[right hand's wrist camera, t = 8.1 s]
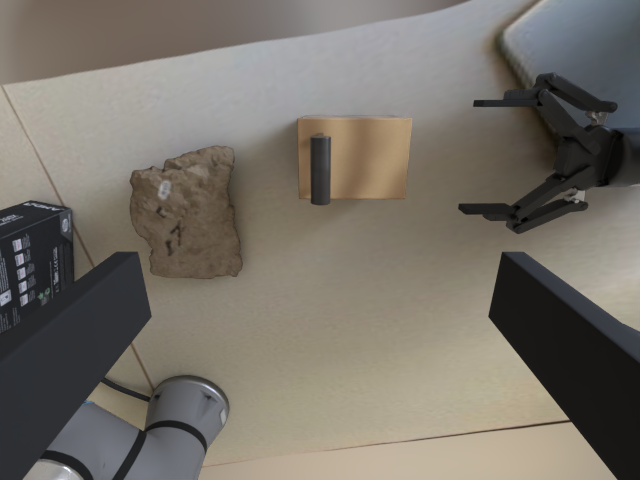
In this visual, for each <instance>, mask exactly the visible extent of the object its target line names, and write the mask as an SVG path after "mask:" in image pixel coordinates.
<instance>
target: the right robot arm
mask: <svg viewBox="0 0 640 480" xmlns="http://www.w3.org/2000/svg"><path fill="white" fill-rule="evenodd" d="M151 317H152V316H151V311H150V306H149V302H148V297H147V292H146V288H145V283H144V278H143V274H142V269H141V264H140V260H139V255H138V252H116V253H114V254H113V255H111V256H110V257H109V258H107V259H106V260H105V261H103V262H102V263H100V264H99V265H98V266H96V267H95V268H94V269H92V270H91V271H89V272H88V273H87V274H85V275H84V276H83V277H81V278H80V279H78V280H77V281H76V282H74V283H73V284H72V285H70V286H69V287H67V288H66V289H65V290H63V291H62V292H60V293H59V294H58V295H56V296H55V297H54V298H52V299H51V300H49V301H48V302H47V303H45V304H44V305H43V306H41V307H40V308H38V309H37V310H36V311H34V312H33V313H32V314H30V315H29V316H27V317H26V318H25V319H23V320H22V321H21V322H19V323H18V324H16V325H15V326H14V327H12V328H10V329H8V330H6V331H4V332H2V333H0V480H198V477H199V474H200V470H201V467H202V464H203V461H204V458H205V454H206V452H207V449H208V447H209V446H210V445H211V443H212V442H213V441H214V439H215V438H216V436H217V435H218V434H219V432H220V431H221V430H222V428H223V427H224V425H225V423H226V420H227V417H228V413H229V403H228V399H227V397H226V396H225V394H224V393H223V391H222V390H221V389H220V388H219V387H218V386H216V385H215V384H213V383H212V382H210V381H208V380H206V379H203V378H200V377H196V376H186V375H185V376H176V377H172V378H169V379H167V380H165V381H163V382H162V383H161V384H159V386H158V387H157V388H156V389H155V391H154V393H153V395H152V396H151V398H150V397H148V396H145V395H142V394H139V393H137V392H134V391H131V390H129V389H126V388H123V387H121V386H119V385H117V384H115V383H113V382H111V381H109V380H107V379H106V378H104V376H105V375H106V374H107V372H108V371H109V370H110V369H111V367H112V366H113V365H114V364H115V362H116V361H117V360H118V359H119V357H120V356H121V355H122V354H123V352H124V351H125V350H126V348H127V347H128V346H129V345H130V343H131V342H132V341H133V340H134V338H135V337H136V336H137V335H138V333H139V332H140V331H141V330H142V328H143V327H144V326H145V324H146V323H147V322H148V321H149V319H150V318H151ZM488 317H489V318H490V319H491V321H492V322H493V323H494V324H495V326H496V327H497V328H498V330H499V331H500V332H501V333H502V335H503V336H504V337H505V338H506V340H507V341H508V342H509V343H510V345H511V346H512V347H513V348H514V350H515V351H516V352H517V354H518V355H519V356H520V357H521V359H522V360H523V361H524V362H525V364H526V365H527V366H528V367H529V369H530V370H531V371H532V372H533V374H534V375H535V376H536V377H537V379H538V380H539V381H540V383H541V384H542V385H543V386H544V388H545V389H546V390H547V391H548V393H549V394H550V395H551V396H552V398H553V399H554V400H555V401H556V403H557V404H558V405H559V407H560V408H561V409H562V410H563V412H564V413H565V414H566V415H567V417H568V418H569V419H570V420H571V422H572V423H573V424H574V425H575V427H576V428H577V429H578V430H579V432H580V433H581V434H582V435H583V437H584V438H585V439H586V441H587V442H588V443H589V444H590V446H591V447H592V448H593V449H594V451H595V452H596V453H597V454H598V456H599V457H600V458H601V460H602V461H603V462H604V463H605V465H606V466H607V467H608V468H609V470H610V471H611V472H612V473H613V475H614V476H615V477H616V478H617V480H640V332H639V331H637V330H635V329H633V328H631V327H629V326H627V325H625V324H622V323H621V322H619V321H618V320H617V319H615V318H614V317H613V316H611V315H610V314H608V313H607V312H606V311H604V310H603V309H602V308H600V307H599V306H597V305H596V304H595V303H593V302H592V301H591V300H589V299H588V298H586V297H585V296H584V295H582V294H581V293H580V292H578V291H577V290H575V289H574V288H573V287H571V286H570V285H568V284H567V283H566V282H564V281H563V280H562V279H560V278H559V277H557V276H556V275H555V274H553V273H552V272H551V271H549V270H548V269H546V268H545V267H544V266H542V265H541V264H540V263H538V262H537V261H535V260H534V259H533V258H531V257H530V256H529V255H527V254H526V253H524V252H502V255H501V260H500V264H499V269H498V274H497V278H496V283H495V288H494V292H493V297H492V302H491V306H490V311H489V316H488ZM100 381H101V382H102V383H104V384H106V385H108V386H109V387H111V388H113V389H116V390H118V391H120V392H123V393H125V394H128V395H131V396H133V397H136V398H139V399H141V400H144V401H147V402H149V405H148V411H147V417H146V423H145V429H144V431H142V430H140V429H139V428H137V427H135V426H133V425H131V424H130V423H128V422H126V421H124V420H123V419H121V418H119V417H117V416H116V415H114V414H112V413H110V412H109V411H107V410H105V409H103V408H101V407H100V406H98V405H96V404H95V403H94V402H92V401H87V400H86V399H87V398H88V396H89V395H90V394H91V393H92V391H93V390H94V389H95V388H96V386H97V385H98V384H99V383H100Z"/></svg>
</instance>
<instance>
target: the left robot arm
mask: <svg viewBox="0 0 640 480" xmlns="http://www.w3.org/2000/svg"><path fill="white" fill-rule="evenodd" d="M549 91H550V92H551V93H553V94H555V95H556V96H558V97H560V98H561V99H563V100H565V101H566V102H568V103H569V104H571V105H573V106H574V107H576V108H578V109H580V110H583V111H586V113H585V115H586V116H587V117H588V118H590V119H591V120H592V124H591V125H588V126H586V127H585V128H583V127H581V126H579V125H578V124H577V123H576V122H575V121H574V120H573V119H572V117H571V116H570V115H569V114H568V113H567V112H566V111H565V109H564V108H563V107H562V106H561V105H560V104H559V103H558V101H557V100H556V99H555V98H554V97H553V96H552V95H551V93H550V92H549ZM522 106H535V107H536V108H537V109H538V110H539V111H540V112H541V114H542V115H543V116H544V117H545V118H546V119H547V120H548V121H549V122H550V124H551V125H552V126H553V127H554V128H555V129H556V130H557V134H558V135H559V136H560V137H561V138H562V139H563V140H564V142H563V143H562V144H561V145H559V147H558V151H557V154H558V157H557V159H556V161H555V163H554V168H553V169H555V173H554V174H552V175H551V176H550V177H548V178H547V179H546V181H545V182H544V183H543V184H542V185H540V186H539V187H537V188H536V189H534V190H533V191H532V192H530V193H529V194H527V195H526V196H525V197H523V198H522V199H520V200H519V201H517V202H516V203H515V204H513V205H512V206H509V205H507V204H505V203H492V204H459V207H458V209H459V210H460V211H462V212H463V213H464V214H483V217H484V218H486V219H487V220H490V221H507V223H506V226H507V228H509V229H510V230H512V231H513V232H515V233H517V234H520V233H523V232H525V231H527V230H530V229H532V228H534V227H537V226H539V225H541V224H544V223H546V222H548V221H551V220H553V219H555V218H558V217H560V216H562V215H565V214H567V213H569V212H576V211H584V210H586V209H587V208H588V203H587V202H584V197H585V191H586V190H588V189H590V188H593V187H627V186H629V187H640V128H607V127H606V126H604V125H605V122H606V119H607V117H608V114H609V113H613V112H614V111H615V110H616V109H617V103H615V102H608V101H601V100H599V99H598V98H596V97H594V96H593V95H591V94H589V93H588V92H586V91H585V90H583V89H581V88H580V87H578V86H577V85H575V84H573V83H572V82H570V81H568V80H567V79H565V78H564V77H562V76H560V75H559V74H557V73H555V72H554V73H546V74H540V75H538V76H537V78H536V84H535V86H534V87H533V88H532V89H520V90H508V91H505V93H504V99H503V100H474V105H473V107H522ZM561 180H563V181H561ZM570 188H573V189H574V190H573V192H572V193H571V194H568V195H565V196H564V197H563V199H559V200H556V201H553V202H551V203H549V204H546V205H544V206H542V205H543V204H545V203H546V202H547V201H549V200H550V199H552V198H553V197H555V196H556V195H558V194H559V193H561V192H565V191H567V190H569V189H570ZM540 206H542V207H540Z"/></svg>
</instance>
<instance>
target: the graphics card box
mask: <svg viewBox="0 0 640 480" xmlns="http://www.w3.org/2000/svg"><path fill="white" fill-rule="evenodd" d="M73 267H74V265H73V232H72V210H71V209H70V208H67V207H62V206H57V205H52V204H47V203H41V202H37V201H31V200H30V201H28V202H24V203H21V204H19V205H15V206H12V207H9V208H6V209H3V210H0V333H2V332H4V331H6V330H8V329H10V328H12V327H14V326H15V325H16V324H18V323H19V322H21V321H22V320H23V319H25V318H26V317H27V316H29V315H30V314H32V313H33V312H34V311H36V310H37V309H38V308H40V307H41V306H43V305H44V304H45V303H47V302H48V301H49V300H51V299H52V298H54V297H55V296H56V295H58V294H59V293H60V292H62V291H63V290H65V289H66V288H67V287H69V286H70V285H72V284H73V283H74V268H73Z"/></svg>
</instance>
